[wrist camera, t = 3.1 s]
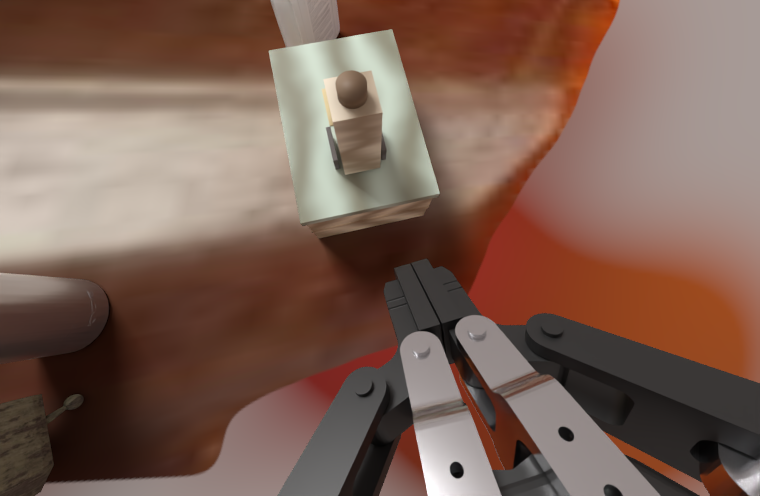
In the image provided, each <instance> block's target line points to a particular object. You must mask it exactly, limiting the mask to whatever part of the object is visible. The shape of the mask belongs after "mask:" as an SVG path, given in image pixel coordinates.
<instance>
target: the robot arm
mask: <svg viewBox="0 0 760 496" xmlns="http://www.w3.org/2000/svg"><path fill="white" fill-rule="evenodd" d="M394 272H395V277H396V280H394V281H390V282H387V283H386V284H385V288H384V296H385V299H386V303H387V306H388V310H389V313H390V317H391V320H392V323H393V327H394V330H395V333H396V337H397V340H398V349H397V352H396V354H395V355H394V357H393V358H392V359H391V360H390V361H389V362H388V363H386V364H385V365H383V366H382V367H380V368H379V369H376V368H373V367H362V368H359V369H357V370H355V371H354V372H352V373H351V374H350V375H349V376H348V377H347V379H346V380H345V382H344V383H343V385H342V387H341V389H340V390H339V392H338V394H337V395H336V397H335V399H334V400H333V402H332V404H331V406H330V407H329V409H328V411H327V412H326V414H325V416H324V417H323V419H322V421H321V423H320V424H319V426H318V428H317V429H316V431H315V433H314V434H313V436H312V438H311V440H310V441H309V443H308V445H307V446H306V448H305V450H304V451H303V453H302V455H301V456H300V458H299V460H298V462H297V463H296V465H295V467H294V468H293V470H292V472H291V474H290V475H289V477H288V479H287V480H286V482H285V484H284V485H283V487H282V489H281V490H280V492H279V494H278V496H379V494H380V491H381V488H382V486H383V483H384V480H385V478H386V475H387V472H388V470H389V467H390V464H391V462H392V459H393V456H394V454H395V451H396V448H397V445H398V443H399V440H400V438H401V434H402V433H403V432H404V431H405V430H406V429H408V428H409V427H410V426H411V425H412V424H414V427H415V433H416V438H417V443H418V448H419V452H420V457H421V462H422V467H423V472H424V477H425V482H426V487H427V492H428V496H699V495H697V494H696V493H694V492H692V491H690V490H688V489H687V488H685V487H683V486H682V485H680V484H678V483H676V482H675V481H673V480H671V479H669V478H667V477H666V476H664V475H662V474H660V473H659V472H657V471H655V470H654V469H652V468H650V467H648V466H646V465H644V464H643V463H641V462H639V461H637V460H636V459H633V458H631V457H629V456H627V455H624V454H623V453H622V452H621V451H620V450H619V449H618V448H617V447H616V446H615V444H614V443H613V442H612V441H611V440H610V439H609V438H608V436H606V434H605V433H604V432H603V431H605V432H606V433H608V434H610V435H612V436H614V437H616V438H618V439H620V440H622V441H624V442H625V443H627V444H630V445H631V446H633V447H635V448H637V449H639V450H641V451H643V452H645V453H647V454H648V455H651V456H652V457H654V458H656V459H658V460H660V461H662V462H664V463H666V464H668V465H670V466H671V467H673V468H675V469H677V470H679V471H681V472H683V473H685V474H687V475H689V476H691V477H693V478H695V479H696V480H698V481H700V482H702V483H703V484H704V486H705V488H706V490H707V491H708V493H709V494H710V496H760V383H757V382H754V381H751V380H748V379H745V378H742V377H739V376H736V375H733V374H730V373H727V372H724V371H721V370H718V369H715V368H712V367H709V366H706V365H703V364H700V363H697V362H694V361H691V360H689V359H686V358H683V357H680V356H677V355H673V354H671V353H668V352H665V351H661V350H659V349H656V348H653V347H650V346H647V345H644V344H641V343H638V342H635V341H632V340H629V339H626V338H623V337H620V336H617V335H614V334H611V333H608V332H605V331H602V330H599V329H596V328H593V327H590V326H587V325H584V324H581V323H578V322H575V321H572V320H569V319H566V318H563V317H560V316H557V315H554V314H547V313H544V314H537V315H534V316H533V317H531V318H530V319H529V320H528V321H527V324H526V325H512V326H511V325H499V324H495V323H494V322H493V321H492V320H490V319H488V318H486V317H484V316H482V315H481V314H480V312H479V311H478V310H477V308H476V307H475V305H474V304H473V303H472V301H471V299H470V298H469V297H468V295H467V294H466V292H465V291H464V289H463V288H462V286H461V285H460V284H459V282H457V279H456V278H455V276H454V275H453V274H452V272H451V271H449V270H447V269H446V268H444V267H442V266H441V267H437V268H434V269H433V267H432V266H431V264H430V262H429V261H428V259H423V260H420V261H416V262H413V263H411V265H410V264H407V265H403V266H400V267H396V268H394ZM108 314H109V304H108V299H107V297H106V294H105V292H104V291H103V290H102V288H101V287H99V286H98V285H97V284H95V283H93V282H91V281H88V280H83V279H71V278H58V277H47V276H34V275H21V274H8V273H0V364H4V363H10V362H16V361H22V360H29V359H35V358H41V357H47V356H53V355H59V354H65V353H71V352H75V351H78V350H80V349H82V348H84V347H86V346H87V345H89V344H90V343H92V342H93V341H94V340H95V339H96V338H97V337H98V336H99V334H100V333H101V331H102V330H103V328H104V326H105V324H106V322H107V318H108ZM452 363H455V364H456V367H457V368H458V371H459V375H460V381H461V384H462V386H463V387H464V389H465V391H466V393H467V395H468V396H469V398H470V400H471V401H472V403H473V405H474V407H475V409H476V411H477V412H478V414H479V416H480V418H481V419H482V421H483V423H484V425H485V426H486V428H487V430H488V432H489V434H490V436H491V438H492V440H493V443H494V446H495V449H496V452H497V454H498V457H499V459H500V461H501V463H502V465H503V467H504V469H505V470H492V469H491V466H490V464H489V461H488V458H487V456H486V453H485V451H484V448H483V445H482V442H481V440H480V437H479V434H478V432H477V429H476V427H475V424H474V421H473V419H472V416H471V414H470V411H469V409H468V407H467V405H466V404H465V403H464V402H463V400H462V398H461V395H460V393H459V390H458V387H457V384H456V382H455V379H454V376H453V374H452V371H451V369H450V366H449V364H452Z"/></svg>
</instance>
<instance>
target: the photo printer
mask: <svg viewBox="0 0 760 496" xmlns="http://www.w3.org/2000/svg"><path fill="white" fill-rule="evenodd" d="M271 3H272V7H273V10H274V13H275V16H276V18H277V22H278V25H279V28H280V30H281V33H282V36H283V39H284V42H285V45H286V48H287V47H293V46H299V45H304V44H310V43H316V42H322V41H327V40H333V39H336V38H337V36H338V34H339V31H340V25H339V17H338V9H337V1H336V0H271Z"/></svg>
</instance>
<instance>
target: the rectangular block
mask: <svg viewBox="0 0 760 496" xmlns="http://www.w3.org/2000/svg"><path fill="white" fill-rule="evenodd" d="M269 55H270V60H271V66H272V71H273V77H274V82H275V88H276V93H277V98H278V104H279V109H280V115H281V120H282V126H283V131H284V137H285V142H286V147H287V153H288V158H289V164H290V169H291V175H292V180H293V186H294V191H295V196H296V202H297V207H298V213H299V218H300V224H301V225H302V226H305V225H307V226H308V227H309V228H310V229H311V232H312V233H314V234H315V235H316V236H317V237H318V238H323V237H327V236H332V235H337V234H341V233H346V232H350V231H355V230H359V229H364V228H369V227H373V226H378V225H382V224H387V223H391V222H396V221H400V220H405V219H410V218H414V217H419V216H423V215H424V213H425V211H426V210H427V208H429V207H430V205H429V204H430V203H431V201H432V199H433V198H435V197H438V196H439V194H440V192H439V188H438V185H437V182H436V178H435V175H434V171H433V168H432V165H431V161H430V158H429V154H428V151H427V147H426V144H425V141H424V137H423V134H422V130H421V127H420V123H419V120H418V117H417V113H416V110H415V106H414V103H413V99H412V96H411V93H410V89H409V86H408V82H407V79H406V75H405V72H404V69H403V65H402V62H401V58H400V55H399V51H398V48H397V45H396V41H395V38H394V34H393V31H392V29H391V30H385V31H379V32H373V33H368V34H362V35H356V36H350V37H345V38H339V39H333V40H327V41H322V42H316V43H310V44H304V45H299V46H293V47H287V48H281V49H275V50H270V51H269ZM349 70H353V71H358V72H365V71H372V74H373V78H374V82H375V86H376V89H377V93H378V97H379V101H380V105H381V108H382V112H383V115H382V139H381V163H380V168H377V169H372V170H367V171H362V172H357V173H352V174H347V175H345V173H344V168H343V164H342V160H341V155H340V151H339V147H338V142H337V138H336V134H335V129H334V125H333V121H332V116H331V112H330V107H329V103H328V98H327V94H326V89H325V85H324V81H323V79H327V78H332V77H338V76H339V75H340V74H341V73H343V72H345V71H349Z"/></svg>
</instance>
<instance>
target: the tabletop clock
mask: <svg viewBox="0 0 760 496" xmlns="http://www.w3.org/2000/svg"><path fill="white" fill-rule="evenodd" d="M83 399H84V398H83V396H82V395H79V394H75V395H71V396H69V397H68V398H67V399H66V400H65V401H64V404H63V407H61V408H59V409H58V410H56V411H54V412H53V413H51V414H49V415H47V416H45V411H44V405H43V399H42V394H40V395H35V396H30V397H26V398H22V399H18V400H14V401H10V402H6V403H2V404H0V496H35V495H36V494H38V493H39V492H41V490H42V488H43V486H44V484H45V482H46V480H47V478H48V476H49V474H50V472H51V470H52V468H53V466H54V462H53V456H52V450H51V445H50V439H49V433H48V428H47V424H48V423H50V422H51V421H52V420H54V419H55V418H56V417H57V416H59V415H60V414H61V413H63V412H64V411H65V410H66V409H67V410H72V409H76V408H77V407H79V406H80V405H81V404H82V403H83Z"/></svg>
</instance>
